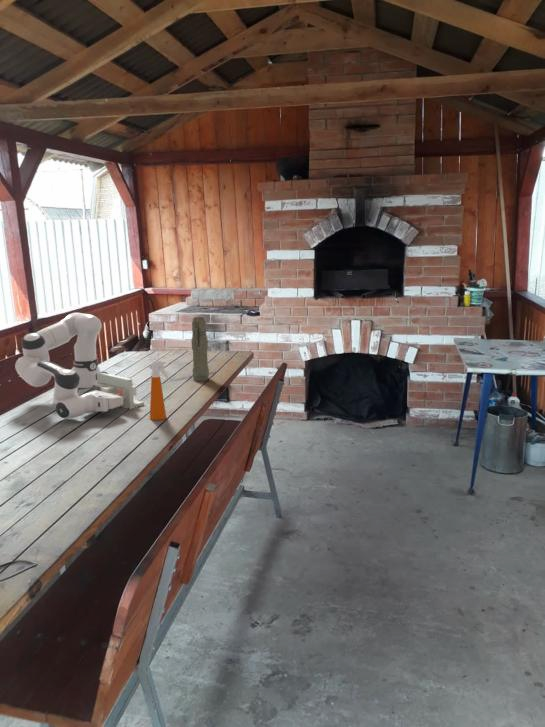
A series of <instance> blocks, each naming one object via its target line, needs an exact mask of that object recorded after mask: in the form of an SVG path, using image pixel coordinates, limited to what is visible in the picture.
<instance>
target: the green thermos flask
mask: <svg viewBox="0 0 545 727" xmlns="http://www.w3.org/2000/svg"><path fill="white" fill-rule="evenodd" d="M191 331H192V337H191V339H190V340H191V350H192V360H193V361H192V362H193V364H192V366H193V367H192V378H193V381H194V380H196V381H195V382H206V381H205V380H207V381H209V380H210V377H209V376H210V370H209V366H208V363H209V362H208V348H209V345H208V344H209V343H208V342H209V341H208V337H207V322H206V319H205V317H203V316H195V317H193V318H192V322H191ZM208 379H209V380H208Z"/></svg>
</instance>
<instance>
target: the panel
mask: <svg viewBox="0 0 545 727" xmlns="http://www.w3.org/2000/svg"><path fill="white" fill-rule="evenodd" d="M102 372H103V371H100V372H98V373H97V384H101V383H104V384H107V386H111V385H112V386H116V388H117V389H118V388H125V389H126V398H125V399H123V405H121V407H120V408H124V407H125V408H124V409H128V408H129V410H133V409H136V408H139V407H138V406H140V407H142V405H143V406H145V401H142V400H136V399H135V398H134V396H133V386H134V385H133V379H132V378H129V377H124V376H119V375H114V374H110V373H108V374H106V373H102ZM135 407H136V408H135ZM132 408H133V409H132Z"/></svg>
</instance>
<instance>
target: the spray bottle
mask: <svg viewBox="0 0 545 727" xmlns="http://www.w3.org/2000/svg"><path fill="white" fill-rule="evenodd" d="M165 364H166V361H165V360H159V361H158V360H157V361H156V362H153V363H151V364H150V365H149V366H148V368H149V369H151V379H150V380H151V382H150V405H149V406H150V407H149V418H150V419H149V420H151V421H162V420H165V419H166V418H167V413H166V408H165V406H166V405H165V401H164V400H165V399H164V393H163V386H162V381H161V380H162V379H161V373H162V375H163V376H164V377H165V378H166V379H167V380H169V379H170V378H169V376H168V375H167V372H166V370H165Z"/></svg>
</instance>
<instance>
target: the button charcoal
mask: <svg viewBox="0 0 545 727" xmlns="http://www.w3.org/2000/svg"><path fill="white" fill-rule="evenodd" d="M101 387H107V384H104V383H101V384H97V385H92V387H91V389H93V390H92V391H95V390H98V391H102V390H101Z"/></svg>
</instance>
